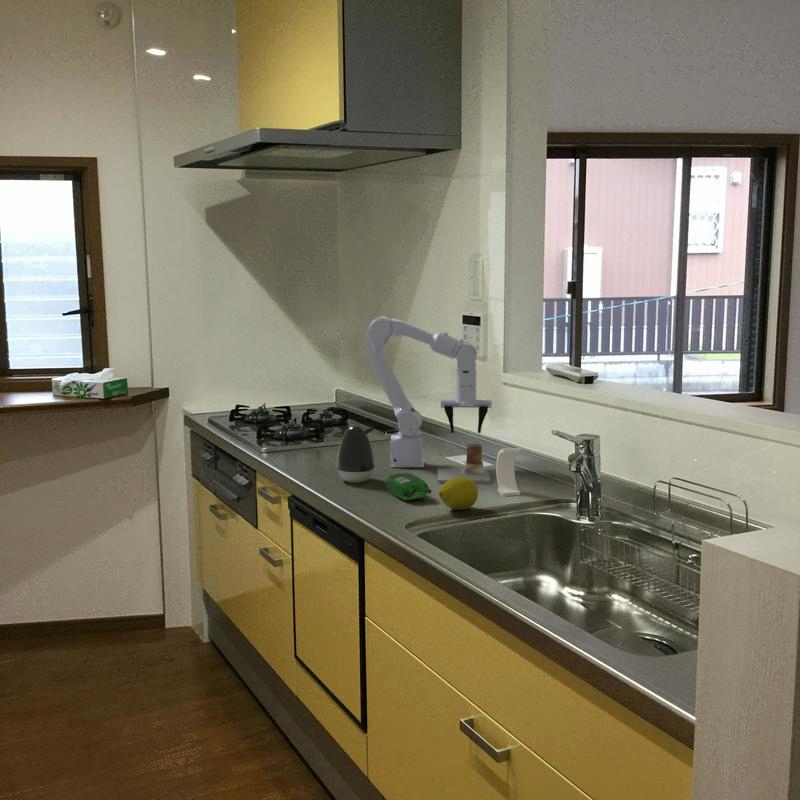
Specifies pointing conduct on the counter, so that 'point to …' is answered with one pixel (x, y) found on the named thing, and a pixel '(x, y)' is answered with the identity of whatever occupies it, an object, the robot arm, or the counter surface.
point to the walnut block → (474, 454)
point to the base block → (473, 468)
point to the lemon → (459, 493)
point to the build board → (462, 475)
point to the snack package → (407, 486)
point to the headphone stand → (506, 472)
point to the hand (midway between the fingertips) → (465, 432)
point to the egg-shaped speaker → (355, 455)
